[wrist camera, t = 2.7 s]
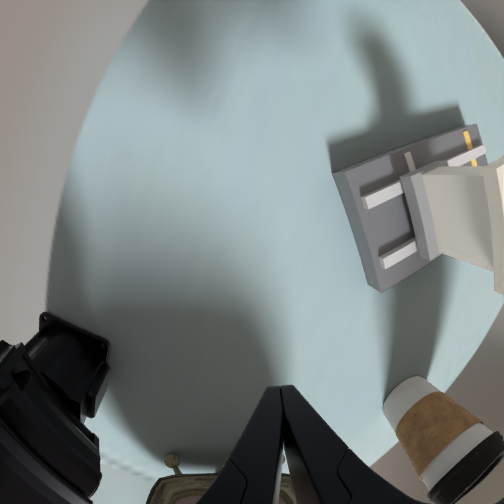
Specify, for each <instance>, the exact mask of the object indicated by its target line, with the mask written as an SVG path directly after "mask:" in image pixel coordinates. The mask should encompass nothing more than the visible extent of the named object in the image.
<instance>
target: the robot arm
mask: <svg viewBox="0 0 504 504" xmlns="http://www.w3.org/2000/svg"><path fill="white" fill-rule="evenodd" d="M44 317H45V318H46V319H45V318H44ZM101 344H104V346H105V347H103V346H102V345H101ZM108 352H109V342H108V341H107V340H106V339H104V338H101V337H99V336H96V335H94V334H92V333H89V332H87V331H85V330H83V329H80V328H78V327H76V326H74V325H72V324H70V323H68V322H65V321H63V320H61V319H59V318H57V317H55V316H53V315H51V314H49V313H47V312H43V313H42V314H41V315H40V318H39V332H38V333H37V334H36V335H35V336H34V337H33V338H32V339H31V340H30V341H28V342H27V343H26V344H25V345H23V343H22V342H21V343H19V344H17V345H10V344H8V343H7V342H5V341H4V340H1V341H0V504H93V501H92V500H90V499H89V498H90V497H91V496H92V495H93V494H94V493H95V492H96V490H97V489H98V487H99V484H100V481H101V479H102V473H101V472H100V454H99V438H98V437H97V436H96V435H95V434H94V433H91V432H90V430H89V429H88V428H87V427H86V426H85V425H84V422H85V419H86V417H89V418H94V417H95V415H96V413H97V410H98V408H99V405H100V403H101V401H102V399H103V396H104V394H105V392H106V390H107V386H108V379H109V372H110V367H109V365H108V364H107V358H108ZM283 444H284V450H285V455H286V459H287V463H288V468H289V472H290V476H291V480H292V485H293V489H294V493H295V497H296V502H297V504H430V503H424V502H420V501H417V500H415V499H413V498H411V497H409V496H407V495H406V494H404V493H403V492H402V491H400V490H399V489H397V488H396V487H395V486H393V485H392V484H390V483H389V482H388V481H386V480H385V479H383V478H382V477H381V476H379V475H378V474H377V473H376V472H374V471H373V470H372V469H371V468H369V467H368V466H367V465H366V464H365V463H364V462H363V461H362V460H361V459H360V458H359V457H358V456H357V455H356V454H355V453H354V452H353V451H352V450H351V449H348V448H349V447H348V446H347V445H346V444H345V443H344V442H343V441H342V439H341V438H340V437H339V436H338V435H337V434H336V433H335V432H334V431H333V430H332V429H331V427H330V426H329V425H328V424H327V423H326V422H325V421H324V420H323V419H322V417H321V416H320V415H319V414H318V413H317V412H316V411H315V410H314V408H313V407H312V406H311V405H310V404H309V403H308V402H307V400H306V399H305V398H304V397H303V396H302V395H301V393H300V392H299V391H298V390H297V389H296V388H295V386H294V385H282V386H281V387H279V386H269V387H267V388H266V390H265V392H264V394H263V396H262V397H261V399H260V401H259V403H258V405H257V407H256V409H255V411H254V413H253V415H252V417H251V419H250V421H249V422H248V424H247V426H246V428H245V430H244V432H243V434H242V435H241V437H240V439H239V441H238V443H237V444H236V446H235V448H234V450H233V451H232V453H231V455H230V457H229V460H227V462H226V463H225V465H224V467H223V468H222V470H221V472H220V473H219V475H218V476H217V478H216V479H215V481H214V482H213V483H212V485H211V486H210V487H209V488H208V490H207V491H206V492H205V493H204V494H203V495H202V497H201V498H200V499H199V500H198V501H197V502H196V503H195V504H278V502H279V492H280V481H281V470H282V458H283ZM495 504H504V498H503V499H501V500H500V501H498V502H497V503H495Z"/></svg>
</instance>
